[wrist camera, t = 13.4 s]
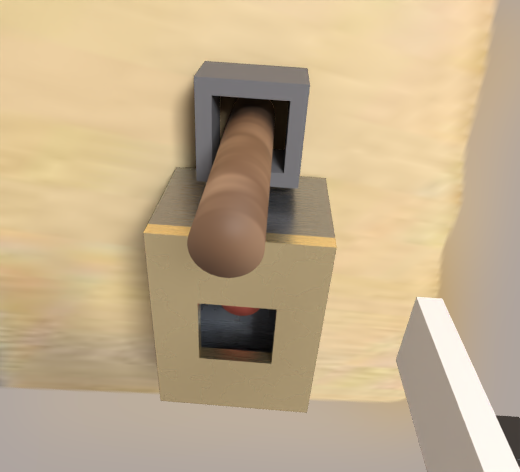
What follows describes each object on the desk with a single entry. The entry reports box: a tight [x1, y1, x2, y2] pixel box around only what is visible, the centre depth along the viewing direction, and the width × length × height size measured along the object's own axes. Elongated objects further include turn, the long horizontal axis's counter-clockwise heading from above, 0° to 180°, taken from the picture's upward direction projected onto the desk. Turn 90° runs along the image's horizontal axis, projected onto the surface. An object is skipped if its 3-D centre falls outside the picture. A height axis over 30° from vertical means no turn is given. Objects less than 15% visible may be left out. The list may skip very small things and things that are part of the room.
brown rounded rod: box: [187, 97, 275, 278], centre depth 24 cm, size 3×3×16 cm
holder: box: [194, 61, 310, 189], centre depth 29 cm, size 7×7×4 cm
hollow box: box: [143, 167, 337, 413], centre depth 33 cm, size 11×15×9 cm
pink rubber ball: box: [221, 305, 260, 316], centre depth 34 cm, size 3×3×3 cm
